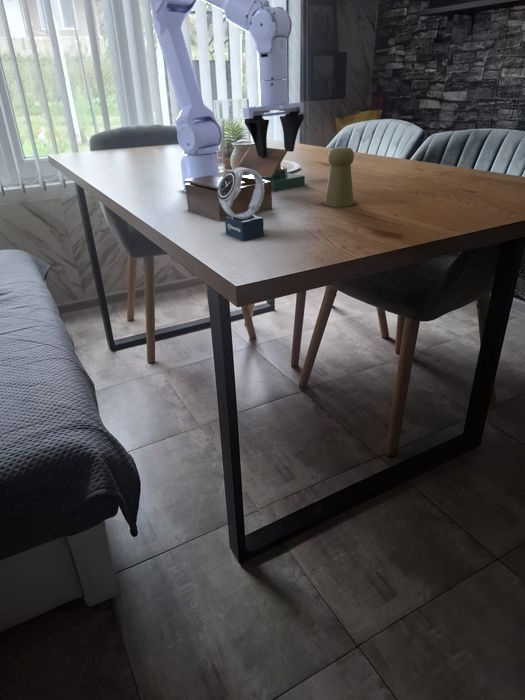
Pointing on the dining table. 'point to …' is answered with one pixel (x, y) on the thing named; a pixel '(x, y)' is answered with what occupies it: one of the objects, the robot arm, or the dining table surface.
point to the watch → (246, 222)
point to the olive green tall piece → (340, 177)
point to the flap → (263, 161)
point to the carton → (207, 202)
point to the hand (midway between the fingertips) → (276, 153)
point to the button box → (283, 179)
